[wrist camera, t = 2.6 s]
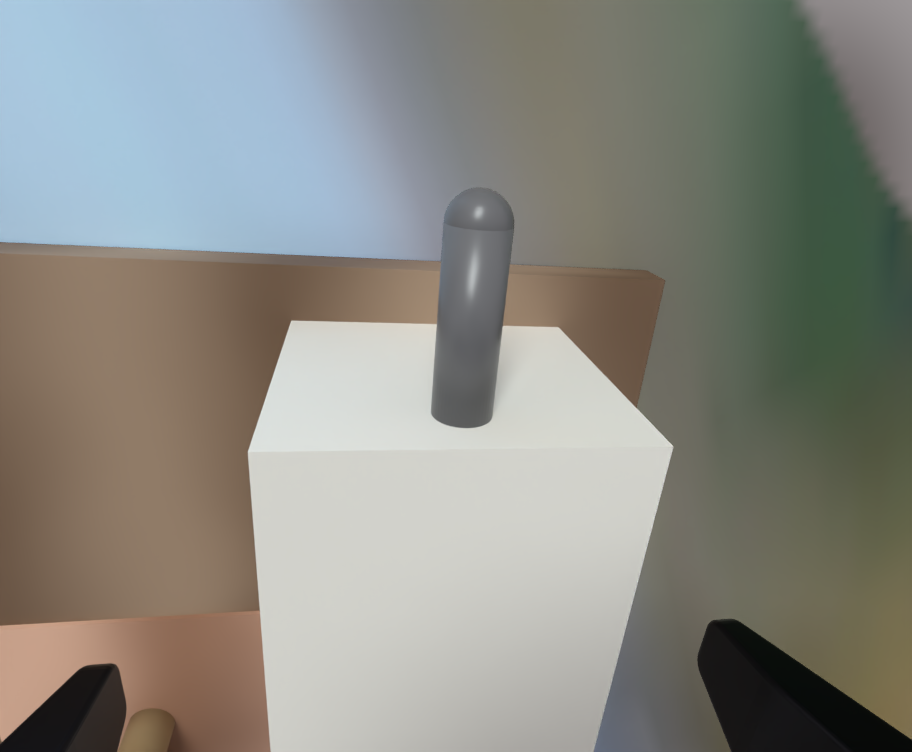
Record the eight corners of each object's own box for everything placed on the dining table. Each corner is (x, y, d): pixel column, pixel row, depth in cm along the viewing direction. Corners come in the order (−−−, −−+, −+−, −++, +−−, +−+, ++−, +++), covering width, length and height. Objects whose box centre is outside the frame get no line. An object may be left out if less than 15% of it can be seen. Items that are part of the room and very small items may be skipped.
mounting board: (24, 874, 16) (-50, 1042, 13) (-222, 232, 9) (-497, 286, 6) (532, 810, 19) (564, 940, 16) (646, 270, 12) (743, 321, 9)
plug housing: (303, 646, 13) (279, 875, 9) (285, 153, 9) (227, 179, 5) (511, 632, 14) (571, 835, 10) (581, 174, 10) (734, 212, 6)
